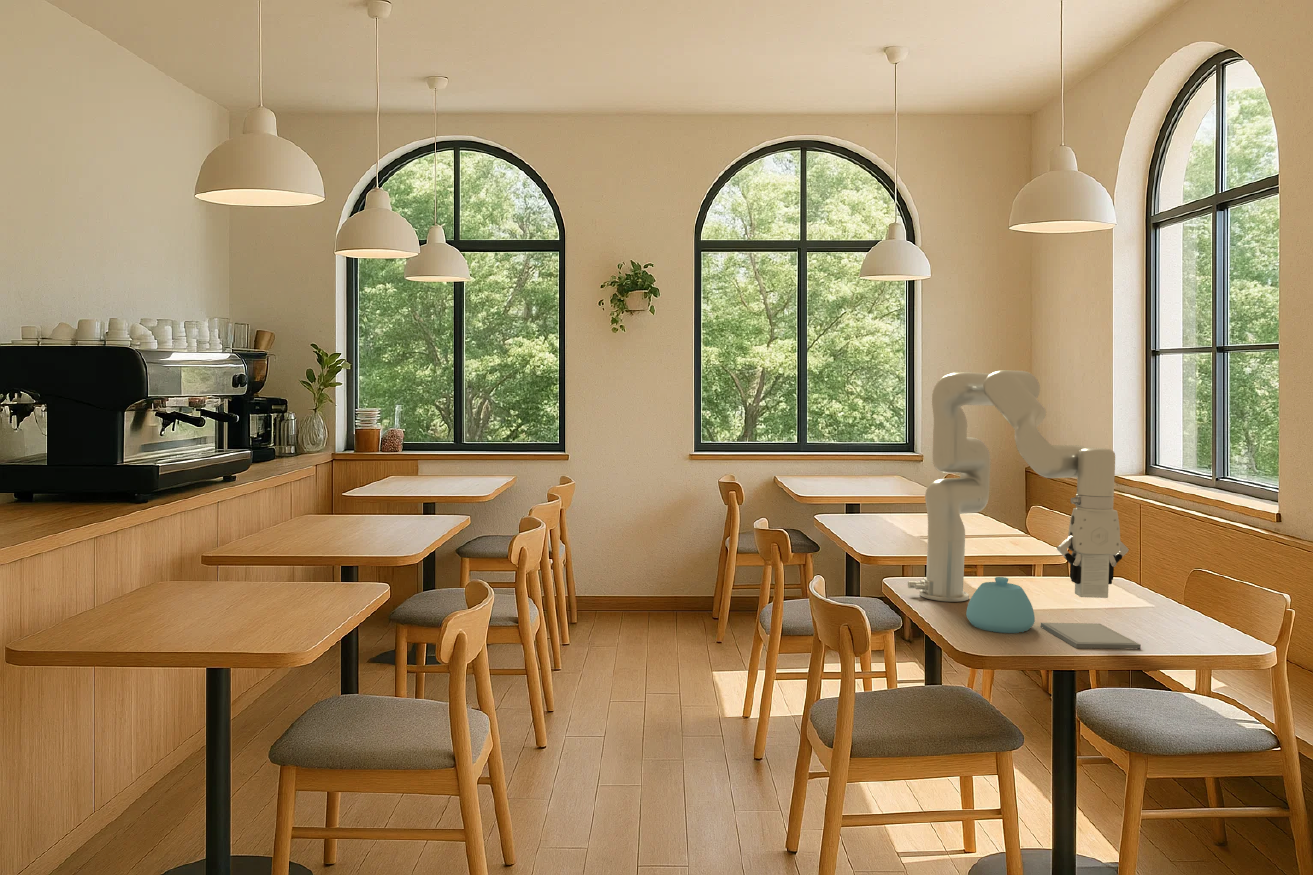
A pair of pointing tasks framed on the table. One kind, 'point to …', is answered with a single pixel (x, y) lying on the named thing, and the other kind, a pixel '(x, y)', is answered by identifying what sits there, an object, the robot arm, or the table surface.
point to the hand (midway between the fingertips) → (1091, 582)
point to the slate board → (1089, 635)
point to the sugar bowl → (1000, 607)
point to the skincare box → (1093, 576)
